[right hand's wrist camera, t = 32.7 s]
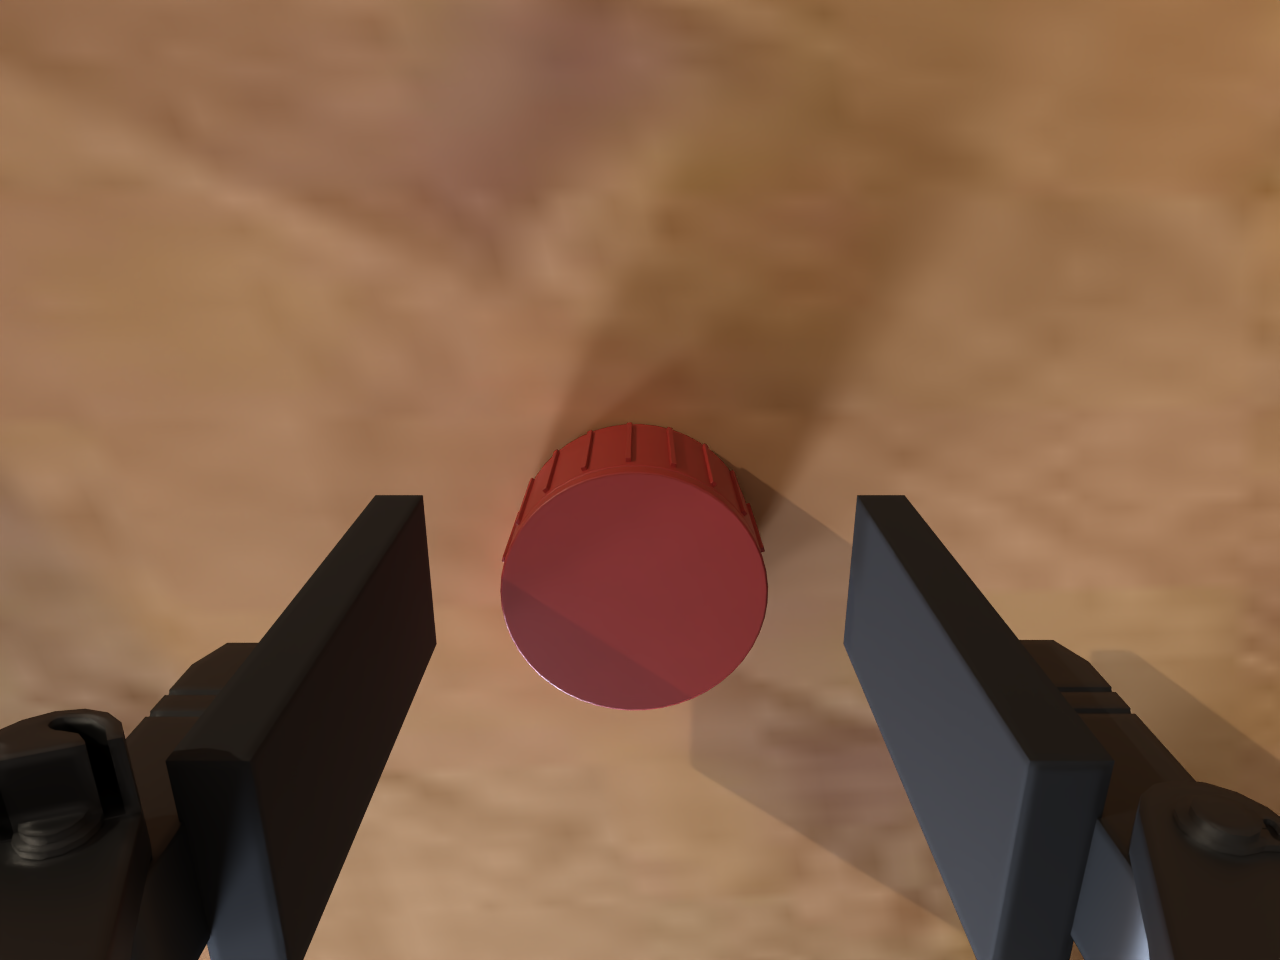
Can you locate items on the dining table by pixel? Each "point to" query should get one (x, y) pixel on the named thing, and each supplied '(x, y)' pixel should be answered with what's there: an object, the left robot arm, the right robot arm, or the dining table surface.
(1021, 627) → the dining table surface
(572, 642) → the cap
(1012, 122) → the dining table surface
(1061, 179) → the dining table surface
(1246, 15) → the dining table surface
